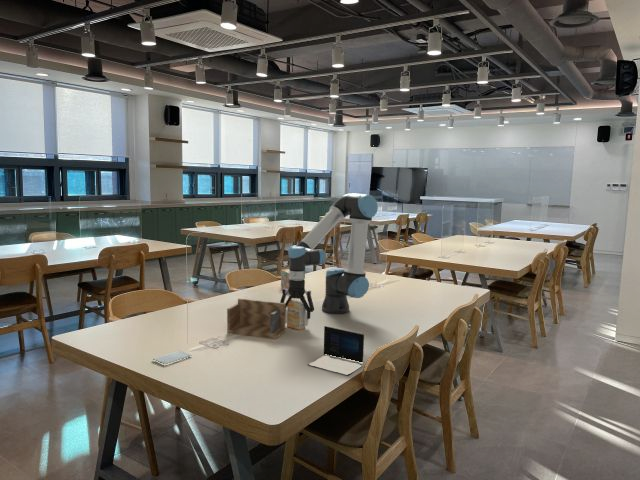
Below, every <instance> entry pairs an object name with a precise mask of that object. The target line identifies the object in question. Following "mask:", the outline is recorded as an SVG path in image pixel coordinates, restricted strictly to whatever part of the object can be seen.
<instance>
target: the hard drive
mask: <svg viewBox="0 0 640 480" xmlns="http://www.w3.org/2000/svg"><path fill="white" fill-rule="evenodd" d="M190 356H192V354H190V353H187V352H185V351H183V350H177V351H173V352H170V353H167V354H164V355H161V356H158V357H155V358H152V359H153V360H156V361H158V362H160V363H163V364H168V363H171V362H174V361H177V360H180V359H184V358H187V357H190Z"/></svg>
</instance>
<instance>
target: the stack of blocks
mask: <svg viewBox="0 0 640 480" xmlns="http://www.w3.org/2000/svg"><path fill="white" fill-rule="evenodd" d="M289 280H290V278H289V268H285V269H280V288H281V289H282V290H283V289H285V288H286V289H289Z"/></svg>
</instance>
